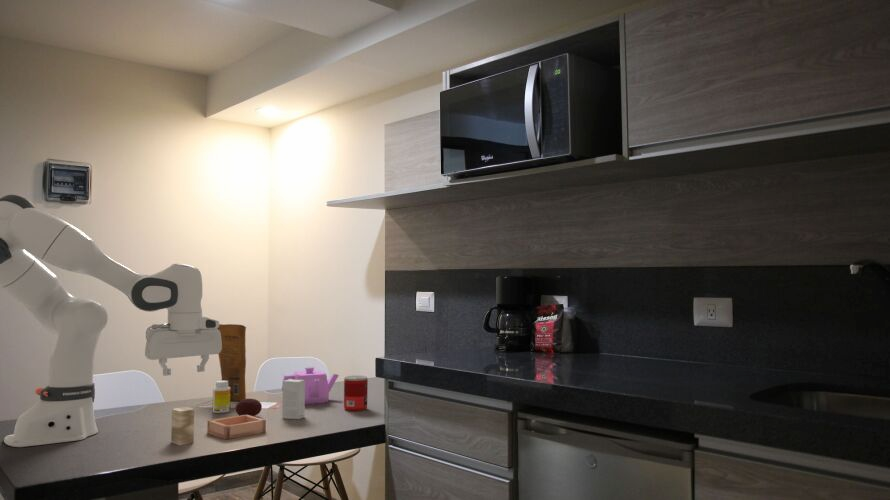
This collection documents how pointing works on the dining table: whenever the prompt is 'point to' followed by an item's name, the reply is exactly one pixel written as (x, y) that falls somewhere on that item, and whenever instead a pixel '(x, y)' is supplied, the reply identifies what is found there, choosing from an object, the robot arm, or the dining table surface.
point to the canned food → (355, 393)
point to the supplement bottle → (221, 397)
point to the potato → (248, 407)
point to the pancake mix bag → (233, 359)
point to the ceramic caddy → (236, 426)
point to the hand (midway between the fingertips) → (184, 373)
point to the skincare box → (293, 399)
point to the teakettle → (314, 384)
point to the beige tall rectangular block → (182, 426)
